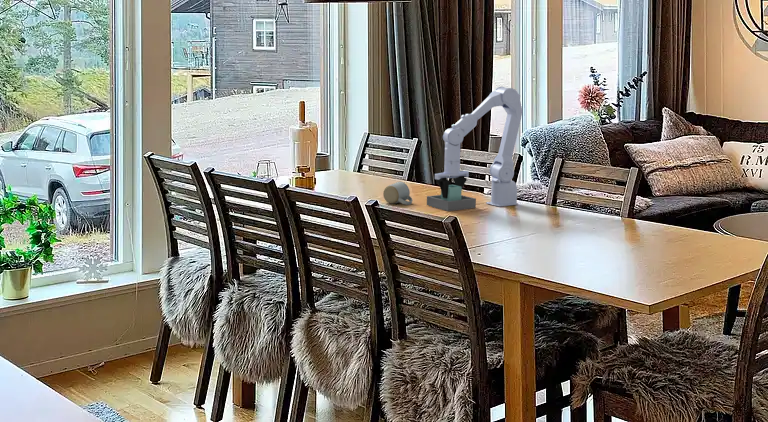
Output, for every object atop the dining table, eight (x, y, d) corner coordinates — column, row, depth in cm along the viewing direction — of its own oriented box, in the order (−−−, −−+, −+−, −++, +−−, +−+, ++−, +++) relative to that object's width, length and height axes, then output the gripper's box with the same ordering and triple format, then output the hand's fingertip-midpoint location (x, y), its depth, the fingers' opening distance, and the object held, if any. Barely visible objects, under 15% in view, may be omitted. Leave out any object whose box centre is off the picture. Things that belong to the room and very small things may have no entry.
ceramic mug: (381, 203, 358) (382, 183, 356) (393, 200, 364) (393, 180, 363) (405, 206, 352) (406, 186, 350) (416, 203, 359) (417, 183, 357)
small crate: (452, 199, 355) (452, 184, 354) (461, 201, 351) (461, 186, 350) (440, 200, 352) (441, 185, 351) (449, 202, 348) (450, 188, 347)
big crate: (454, 202, 361) (454, 193, 360) (475, 207, 350) (475, 198, 350) (426, 205, 354) (426, 196, 353) (447, 211, 343) (448, 201, 343)
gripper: (460, 158, 356) (459, 193, 359) (430, 160, 348) (429, 197, 351) (472, 160, 350) (471, 196, 353) (441, 163, 342) (440, 200, 345)
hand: (451, 197), depth 351 cm, fingers closed on small crate, 5 cm apart
